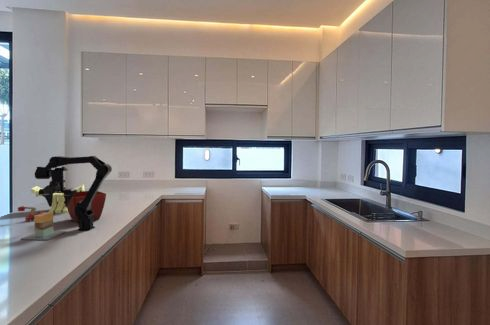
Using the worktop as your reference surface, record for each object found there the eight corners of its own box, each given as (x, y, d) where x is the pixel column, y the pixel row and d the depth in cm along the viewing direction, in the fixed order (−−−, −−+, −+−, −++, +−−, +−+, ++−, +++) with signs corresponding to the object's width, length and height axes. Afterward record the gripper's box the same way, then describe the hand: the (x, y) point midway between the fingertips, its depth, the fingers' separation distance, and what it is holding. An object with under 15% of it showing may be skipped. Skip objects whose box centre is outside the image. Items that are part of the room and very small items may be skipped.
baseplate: (66, 232, 161) (66, 224, 161) (47, 240, 147) (47, 232, 147) (41, 231, 162) (41, 223, 162) (20, 239, 148) (20, 231, 148)
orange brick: (53, 219, 157) (53, 212, 157) (42, 223, 150) (42, 216, 150) (45, 219, 158) (45, 212, 158) (34, 222, 151) (34, 215, 151)
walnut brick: (53, 226, 158) (53, 219, 157) (43, 230, 151) (43, 223, 151) (45, 225, 158) (45, 219, 158) (34, 229, 151) (34, 222, 151)
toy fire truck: (45, 219, 189) (45, 204, 188) (19, 223, 178) (18, 207, 178) (43, 218, 191) (43, 203, 190) (17, 222, 180) (17, 206, 180)
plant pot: (107, 219, 189) (106, 193, 188) (74, 225, 175) (73, 197, 174) (95, 214, 202) (94, 190, 201) (63, 219, 188) (63, 193, 187)
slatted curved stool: (84, 206, 226) (84, 183, 225) (82, 211, 211) (81, 186, 210) (37, 210, 214) (37, 185, 213) (32, 214, 199) (31, 188, 198)
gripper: (30, 180, 157) (31, 209, 157) (63, 181, 155) (64, 210, 156) (45, 178, 168) (46, 205, 169) (77, 178, 166) (78, 206, 167)
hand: (58, 206), depth 165 cm, fingers open, 9 cm apart
